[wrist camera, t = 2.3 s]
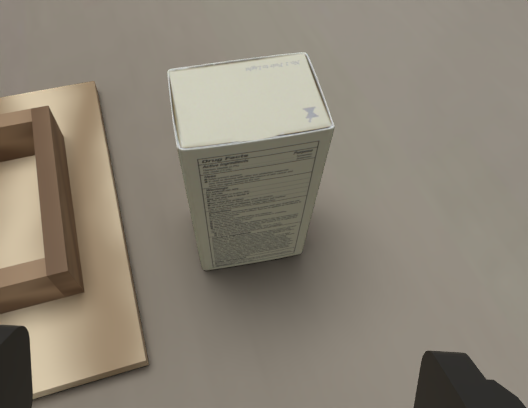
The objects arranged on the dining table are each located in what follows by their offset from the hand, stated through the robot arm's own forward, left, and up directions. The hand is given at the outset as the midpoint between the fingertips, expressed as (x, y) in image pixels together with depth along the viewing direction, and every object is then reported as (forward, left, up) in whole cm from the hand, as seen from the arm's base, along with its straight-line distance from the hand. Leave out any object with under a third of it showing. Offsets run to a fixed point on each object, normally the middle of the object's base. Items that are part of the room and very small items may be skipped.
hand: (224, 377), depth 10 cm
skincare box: (-4, -11, -16) cm, 20 cm away
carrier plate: (+11, -15, -16) cm, 24 cm away
